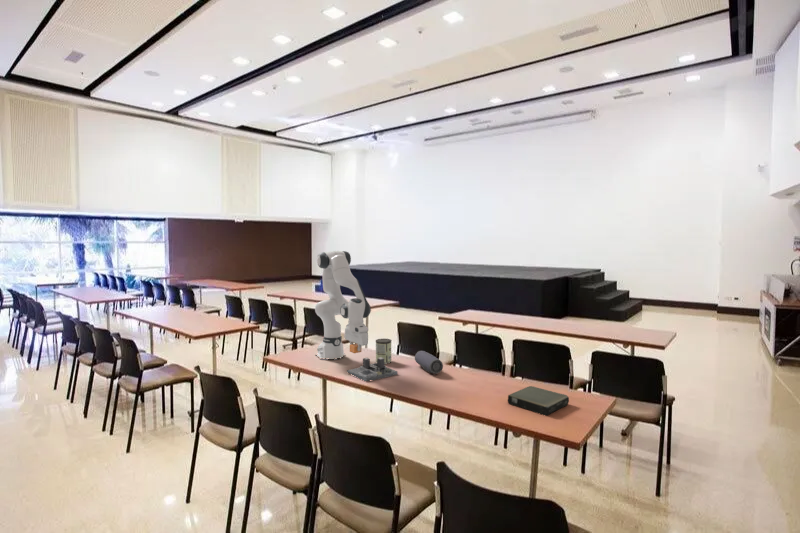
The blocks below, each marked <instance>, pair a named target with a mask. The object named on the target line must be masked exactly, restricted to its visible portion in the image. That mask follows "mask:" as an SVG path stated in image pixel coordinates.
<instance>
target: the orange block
mask: <svg viewBox="0 0 800 533" xmlns="http://www.w3.org/2000/svg"><path fill="white" fill-rule="evenodd" d="M362 347H363V346H361V351H357V348H358V344H357V343H353V344H351V345H350V344H349V352H350V353H352V354H358V353H362V350H363V349H362Z"/></svg>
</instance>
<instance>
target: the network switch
mask: <svg viewBox="0 0 800 533" xmlns="http://www.w3.org/2000/svg"><path fill="white" fill-rule="evenodd" d="M569 402H570V398H569V396H568V395H567V394H564V393H559V392H557V391H552V390H548V389H544V388H540V387H536V386H533V385H529V386H526V387H525V388H522V389H520V390H517V391H515V392H511V393H510V394H508V395H507V404H508V405H511V406H515V407H518V408H522V409H525V410H529V411H532V412H533V413H537V414H539V413H540V414H539V415H542V414H543V415H542V416H544V415H545V417H546V416H549V415H551V414H553V413H554V412H557V411H558V410H560V409H562V408H563V407H567V406H568V404H569Z"/></svg>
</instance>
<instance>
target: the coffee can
mask: <svg viewBox="0 0 800 533" xmlns="http://www.w3.org/2000/svg"><path fill="white" fill-rule="evenodd" d="M380 357H382V358H384V365H387V363H388V364H390V362H391V363H392V339H389V338H378V339H375V363H376V362H377V359H378V358H380Z"/></svg>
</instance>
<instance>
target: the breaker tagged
mask: <svg viewBox="0 0 800 533" xmlns="http://www.w3.org/2000/svg"><path fill="white" fill-rule="evenodd" d="M370 364H371V359H370V358H369V357H363V358H362V366H363V367H365V368H367V369H368V368H370Z"/></svg>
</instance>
